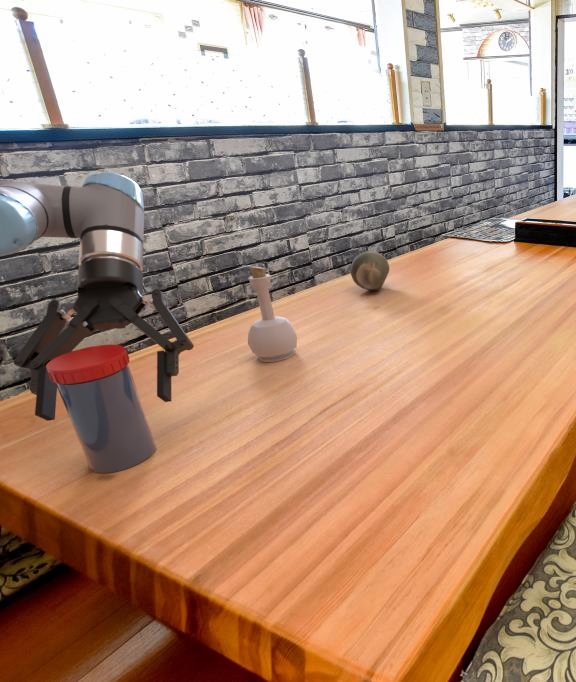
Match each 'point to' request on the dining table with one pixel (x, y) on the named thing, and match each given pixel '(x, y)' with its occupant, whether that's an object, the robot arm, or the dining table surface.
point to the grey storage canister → (109, 421)
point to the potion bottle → (269, 325)
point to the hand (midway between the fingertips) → (106, 408)
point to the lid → (87, 364)
